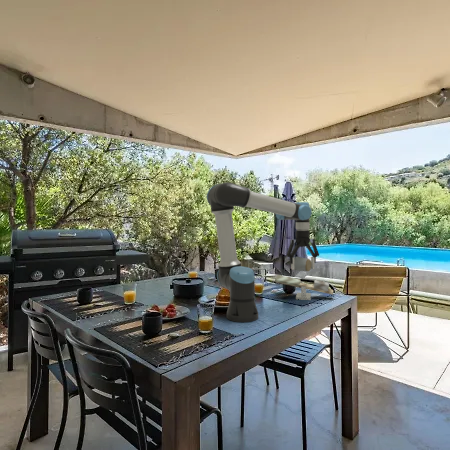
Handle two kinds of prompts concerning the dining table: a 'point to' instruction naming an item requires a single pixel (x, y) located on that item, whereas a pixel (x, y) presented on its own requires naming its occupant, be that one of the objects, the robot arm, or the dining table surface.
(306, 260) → the ceramic mug
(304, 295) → the stand
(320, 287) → the balance beam
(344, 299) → the dining table surface
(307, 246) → the robot arm
